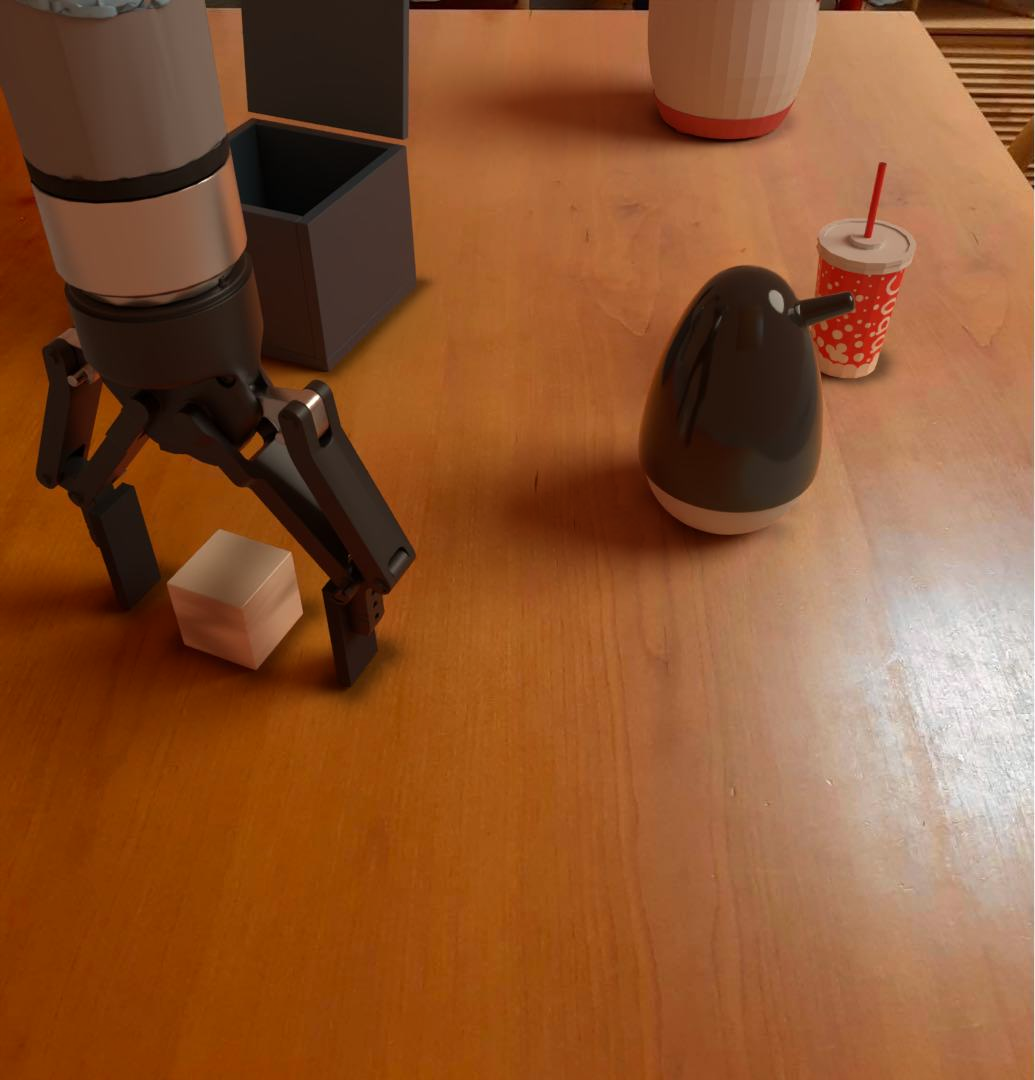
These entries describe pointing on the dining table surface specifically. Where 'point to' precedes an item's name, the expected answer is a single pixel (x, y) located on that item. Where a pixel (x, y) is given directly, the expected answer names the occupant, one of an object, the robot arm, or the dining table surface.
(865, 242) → the beverage cup
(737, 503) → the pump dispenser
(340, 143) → the box
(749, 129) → the citrus juicer
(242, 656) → the block
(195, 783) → the dining table surface
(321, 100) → the lid
